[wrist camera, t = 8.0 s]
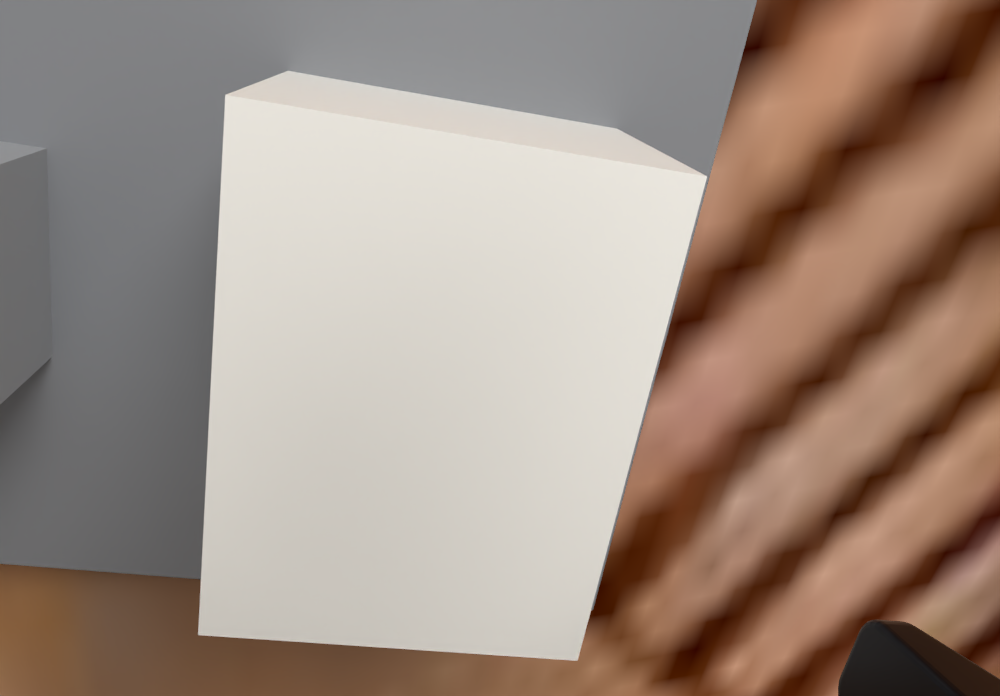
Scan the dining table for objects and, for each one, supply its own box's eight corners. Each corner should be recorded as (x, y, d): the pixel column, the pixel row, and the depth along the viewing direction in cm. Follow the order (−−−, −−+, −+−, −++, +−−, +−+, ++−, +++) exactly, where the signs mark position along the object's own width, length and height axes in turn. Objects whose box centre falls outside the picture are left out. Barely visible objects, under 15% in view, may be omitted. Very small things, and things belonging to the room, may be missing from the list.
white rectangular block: (535, 494, 18) (577, 660, 13) (257, 466, 17) (197, 635, 12) (617, 128, 15) (706, 176, 10) (288, 70, 14) (224, 94, 9)
